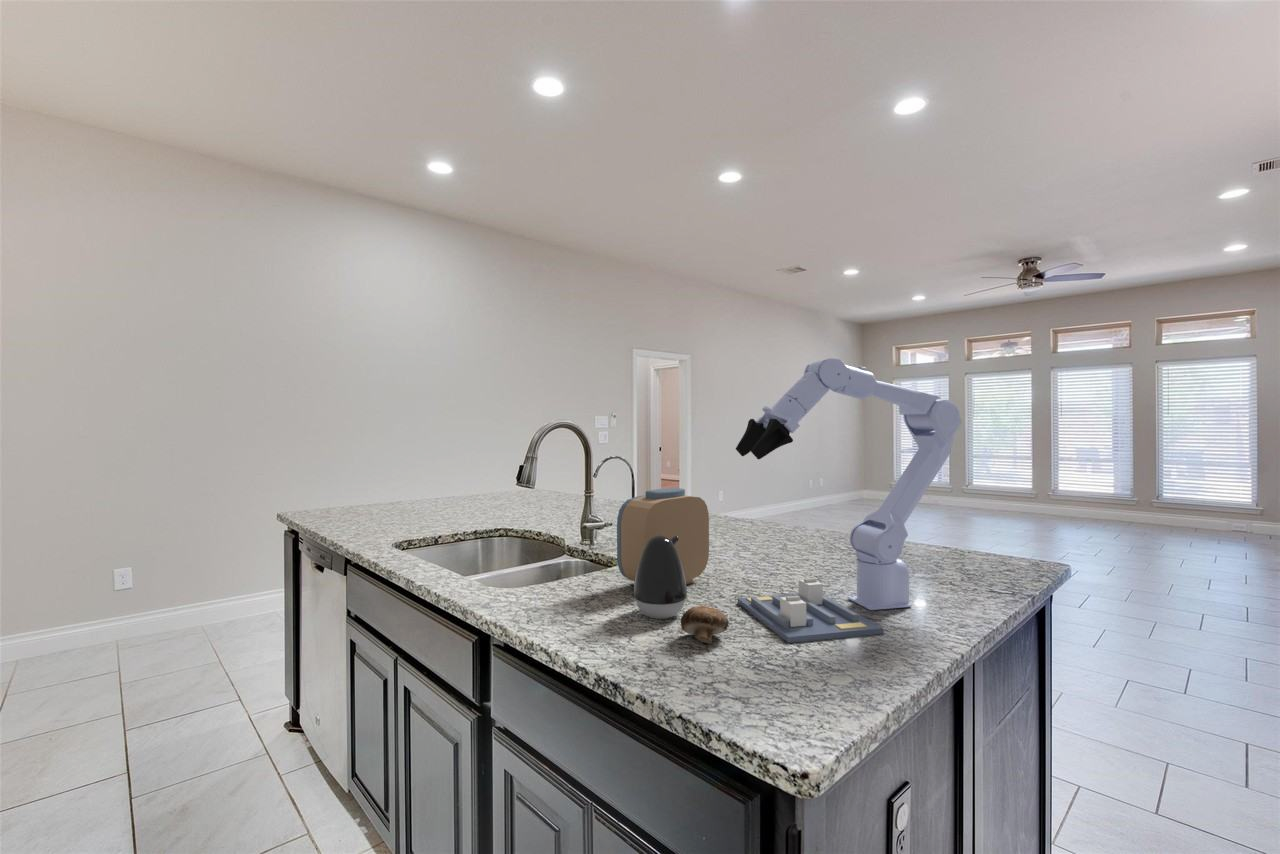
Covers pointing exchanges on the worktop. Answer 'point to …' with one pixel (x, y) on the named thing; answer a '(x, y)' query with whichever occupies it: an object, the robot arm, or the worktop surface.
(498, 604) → the worktop surface
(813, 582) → the tab
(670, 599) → the pump dispenser
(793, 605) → the tab
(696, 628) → the mushroom
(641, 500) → the alarm clock
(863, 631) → the switch board
